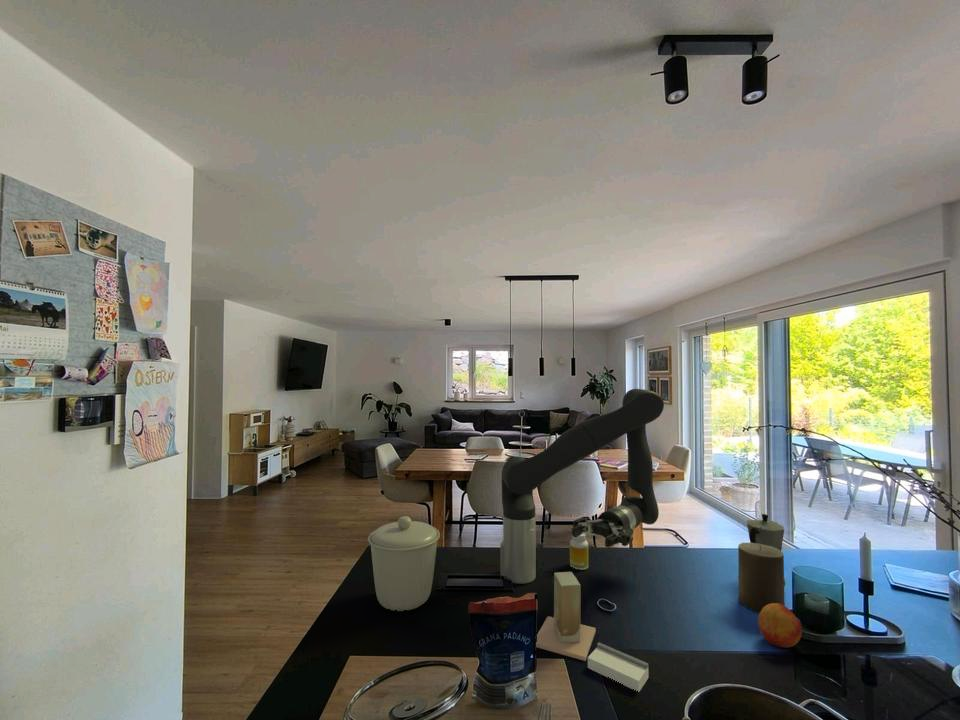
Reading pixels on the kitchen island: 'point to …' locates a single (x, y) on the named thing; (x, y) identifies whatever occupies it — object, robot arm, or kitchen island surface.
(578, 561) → the supplement bottle
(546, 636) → the coaster
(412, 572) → the canister
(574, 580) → the skincare box
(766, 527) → the coffeepot
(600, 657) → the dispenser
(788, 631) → the fruit
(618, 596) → the kitchen island surface
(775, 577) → the pillar candle
